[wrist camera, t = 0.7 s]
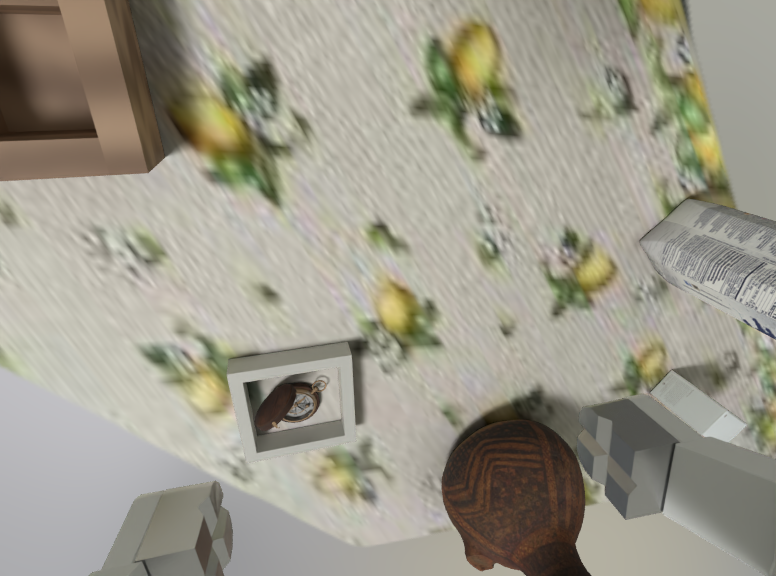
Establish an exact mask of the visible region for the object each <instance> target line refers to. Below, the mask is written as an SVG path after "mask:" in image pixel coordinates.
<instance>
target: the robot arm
mask: <svg viewBox="0 0 776 576" xmlns="http://www.w3.org/2000/svg"><path fill="white" fill-rule="evenodd" d="M579 423H580V424H581V425H582V426H583V427H584V429H583V430H582V432H581V433H580V434H579V436H578V437H577V451H578V455H579V458H580V462H581V464H582V465H583V467H584V469H585V471H586V472H587V473H588V475H589V476H590V477H591V478H592V479H593V480H595V481H597V482H599V483H601V484H603V485H605V496H606V497H607V498H608V499H609V501H610V502H611V503H612V504H613V505H614V507H615V508H616V509H617V510H618V511H619V513H620V514H621V515H622V516H623V518H624V519H625V520H627V519H632V518H637V517H642V516H646V515H651V514H656V513H661V512H663V515H665V516H666V517H668V518H670V519H671V520H673V521H675V522H676V523H678V524H680V525H681V526H683V527H685V528H686V529H688V530H690V531H691V532H693V533H695V534H696V535H698V536H700V537H701V538H703V539H705V540H707V541H708V542H710V543H712V544H713V545H715V546H716V547H718V548H720V549H721V550H723V551H725V552H726V553H728V554H730V555H732V556H733V557H735V558H737V559H738V560H740V561H742V562H743V563H745V564H746V565H748V566H750V567H752V568H753V569H755V570H756V571H759V572H760V573H762V574H763V575H765V576H776V459H774V458H771V457H768V456H766V455H763V454H760V453H757V452H754V451H751V450H748V449H745V448H742V447H739V446H736V445H734V444H731V443H728V442H725V441H722V440H719V439H716V438H713V437H705V438H703V437H702V436H701V435H700V434H698V433H697V432H696V431H694V430H693V429H692V428H691V427H689V426H688V425H687V424H685V423H684V422H683V421H681V420H680V419H679V418H678V417H676V416H675V415H674V414H672V413H671V412H670V411H668V410H667V409H666V408H665V407H663V406H662V405H661V404H659V403H658V402H657V401H656V400H654V399H653V398H652V397H650V396H648V395H645V394H639V395H635V396H630V397H626V398H622V399H618V400H614V401H609V402H604V403H599V404H594V405H590V406H585V407H582V409H581V411H580V413H579ZM222 499H223V492H222V489H221V487H220V484H219V482H217V481H213V482H207V483H201V484H195V485H189V486H184V487H178V488H173V489H167V490H165V491H159V492H153V493H147V494H141V495H140V496H138V497H137V498H136V499H135V500H134V502H133V504H132V506H131V508H130V510H129V512H128V514H127V517H126V519H125V521H124V523H123V525H122V527H121V529H120V531H119V534H118V535H117V538H116V540H115V542H114V544H113V546H112V548H111V551H110V552H109V555H108V557H107V559H106V561H105V563H104V565H103V567H102V569H101V570H100V571H96V572H92V573H91V574H90V575H89V576H224V574H223V571H222V570H223V569H224V568H225V567H226V565H227V564H228V563H229V562H230V559H231V553H232V544H233V543H232V542H233V530H232V523H231V518H230V515H229V512H228V510H226V509H225V508H223V507H222V506H221V503H222Z"/></svg>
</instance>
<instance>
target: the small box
mask: <svg viewBox="0 0 776 576" xmlns="http://www.w3.org/2000/svg"><path fill="white" fill-rule="evenodd" d="M650 393H651V394H652V395H653V396H654V397H655V398H657V399H658V400H659V401H660V402H661V403H663V404H664V405H665V406H666V407H667V408H669V409H670V410H671V411H672V412H674V413H675V414H676V415H677V416H678V417H680V418H681V419H682V420H683V421H684V422H686V423H687V424H688V425H689V426H690V427H692V428H693V429H694V430H695V431H696V432H698V433H699V434H700V435H701V436H703V437H713V438H716V439H719V440H722V441H725V442H728V443H729V442H730V441H731V440H732V439H733V438H734V437H735V436H736V435H737V434H738V433H739V432H740V431H741V430H743V429H744V428H745V427H746V426H747V423H745V422H744V421H743V420H741V419H740V418H738V417H737V416H736V415H734V414H733V413H732V412H730V411H729V410H727V409H726V408H725V407H723V406H722V405H720V404H719V403H718V402H716V401H715V400H714V399H712V398H711V397H709V396H708V395H707V394H705V393H704V392H703V391H701V390H700V389H699V388H697V387H696V386H694V385H693V384H691V383H690V382H689V381H687V380H686V379H684V378H683V377H682V376H680V375H679V374H677V373H676V372H674V371H673V370H671V371H670V372H669V373H668V374H667V375H666V376H665V377H664V378H663V379H662V381H661V382H660V383H659V384H658V385H657V386H656V387H655V388H654V389H653V390H652V391H651V392H650Z"/></svg>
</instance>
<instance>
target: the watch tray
mask: <svg viewBox="0 0 776 576" xmlns="http://www.w3.org/2000/svg"><path fill="white" fill-rule="evenodd" d="M337 367H338V380H339V394H340V408H341V420H338V421H333V422H328V423H323V424H317V425H312V426H307V427H302V428H296V429H291V430H286V431H280V432H275V433H270V434H265V435H259V436H257V434H256V429H255V424H254V419H253V413H252V408H251V403H250V398H249V393H248V388H247V383H246V382H251V381H257V380H263V379H269V378H275V377H281V376H288V375H294V374H300V373H306V372H312V371H319V370H325V369H331V368H337ZM227 378H228V383H229V387H230V392H231V396H232V401H233V405H234V410H235V414H236V419H237V423H238V428H239V432H240V437H241V441H242V446H243V451H244V455H245V460H246V464H248V463H252V462H257V461H262V460H267V459H272V458H277V457H282V456H287V455H292V454H297V453H302V452H307V451H312V450H317V449H322V448H327V447H331V446H336V445H341V444H346V443H351V442H356V426H355V407H354V388H353V369H352V354H351V351H350V348H349V345H348V342H341V343H335V344H328V345H321V346H315V347H308V348H301V349H295V350H288V351H281V352H274V353H268V354H261V355H254V356H248V357H241V358H234V359H228V368H227Z"/></svg>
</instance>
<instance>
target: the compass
mask: <svg viewBox="0 0 776 576" xmlns="http://www.w3.org/2000/svg"><path fill="white" fill-rule="evenodd" d="M319 381H321V382H324V381H322V380H318V381H316V382H319ZM316 382H314V383H313V385H312V387H311V386H309V385H307V384H301V383H296V384H284V385H282V386H280V387H278V388H277V389H275V390H274V391H273V392H272V393H271V394H269V396H268V397H267V398H266V399H265V400H264V402H263V403H262V404H261V406H260V408H259V409H258V411H257V414H256V416H255V426H256V427H258V428H259V429H260V430H262V431H267V430H269V429H271V428H273V427H276V428H278V427H277V424H278V423H279V422H280V421H281V420H282V421H285V422H292V423H295V422H301V421H304V420H306V419H308V418H310V417H311V416H313V414H314V413H315V412H316V411H317V409H318V407H319V402H320V401H319V396H318V393H317V392H321V391H323V390H324V389H325V388H326V383H325V382H324V383H325V388H324V389H323V390H320V391H317V390H318V388H317V387H315V388H313V386H314V384H315V383H316ZM279 428H280V427H279Z"/></svg>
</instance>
